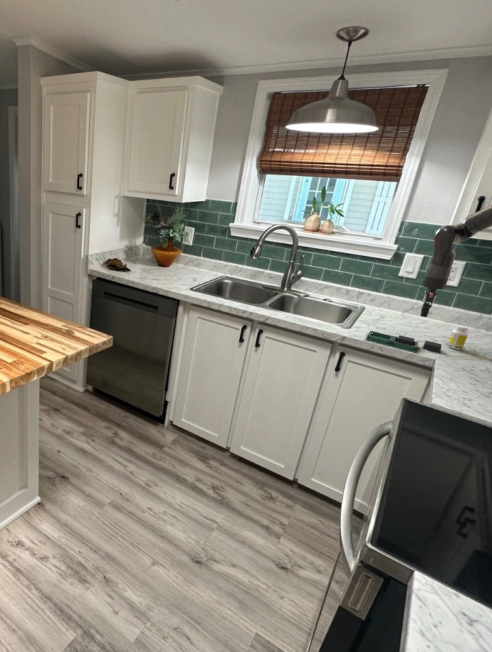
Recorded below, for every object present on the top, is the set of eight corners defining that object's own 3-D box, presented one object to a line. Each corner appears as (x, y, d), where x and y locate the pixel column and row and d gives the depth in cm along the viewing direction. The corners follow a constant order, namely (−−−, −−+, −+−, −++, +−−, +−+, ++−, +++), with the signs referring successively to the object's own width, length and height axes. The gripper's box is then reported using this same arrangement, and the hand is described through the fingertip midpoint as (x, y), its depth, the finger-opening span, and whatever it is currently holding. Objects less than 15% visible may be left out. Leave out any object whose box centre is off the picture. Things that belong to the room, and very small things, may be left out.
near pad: (412, 345, 175) (414, 338, 174) (411, 348, 171) (413, 342, 170) (396, 341, 178) (399, 335, 177) (395, 344, 174) (398, 338, 173)
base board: (416, 346, 177) (418, 341, 176) (415, 354, 168) (417, 348, 167) (369, 334, 187) (370, 329, 186) (365, 341, 178) (367, 336, 177)
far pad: (438, 350, 174) (441, 344, 173) (438, 354, 170) (441, 347, 169) (423, 346, 177) (425, 340, 176) (422, 350, 173) (425, 343, 172)
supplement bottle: (463, 348, 178) (472, 327, 175) (459, 350, 175) (468, 329, 172) (448, 344, 182) (457, 323, 179) (444, 346, 179) (452, 325, 176)
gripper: (449, 280, 156) (434, 320, 161) (448, 275, 167) (434, 313, 172) (424, 276, 160) (411, 315, 166) (425, 272, 171) (413, 308, 176)
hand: (423, 314), depth 169 cm, fingers open, 8 cm apart
